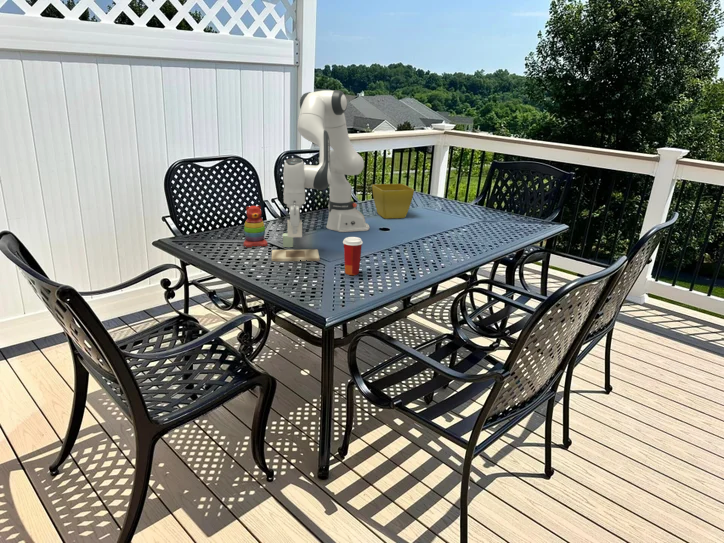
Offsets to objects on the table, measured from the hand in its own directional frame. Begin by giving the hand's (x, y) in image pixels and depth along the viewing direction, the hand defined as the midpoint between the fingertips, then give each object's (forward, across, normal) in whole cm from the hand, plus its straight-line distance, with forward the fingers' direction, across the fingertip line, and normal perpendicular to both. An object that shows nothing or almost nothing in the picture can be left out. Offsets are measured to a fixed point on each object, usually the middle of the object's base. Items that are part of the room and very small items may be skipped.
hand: (294, 230), depth 217 cm
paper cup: (+12, -21, -22) cm, 33 cm away
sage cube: (+12, +15, +3) cm, 19 cm away
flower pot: (+11, +70, -56) cm, 91 cm away
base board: (+12, 0, 0) cm, 12 cm away
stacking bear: (+12, +19, +18) cm, 29 cm away
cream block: (+2, 0, 0) cm, 2 cm away
